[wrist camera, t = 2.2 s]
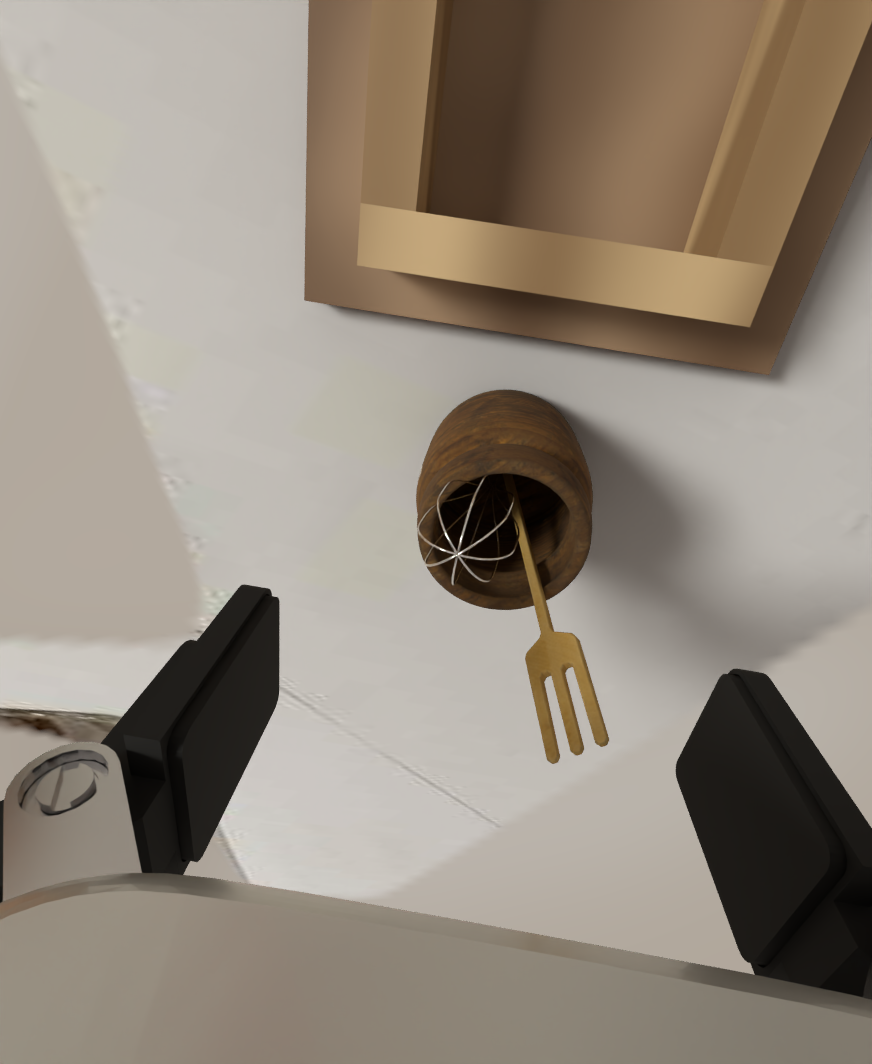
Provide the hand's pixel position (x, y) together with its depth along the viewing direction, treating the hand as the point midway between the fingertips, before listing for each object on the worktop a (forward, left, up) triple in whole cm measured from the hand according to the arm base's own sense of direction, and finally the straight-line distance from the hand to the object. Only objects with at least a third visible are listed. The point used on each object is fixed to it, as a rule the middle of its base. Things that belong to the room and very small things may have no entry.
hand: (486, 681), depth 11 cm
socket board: (0, -13, -12) cm, 17 cm away
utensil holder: (0, -1, -12) cm, 12 cm away
